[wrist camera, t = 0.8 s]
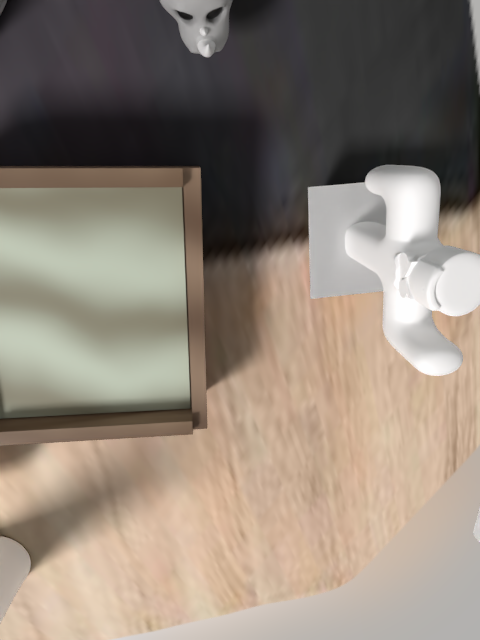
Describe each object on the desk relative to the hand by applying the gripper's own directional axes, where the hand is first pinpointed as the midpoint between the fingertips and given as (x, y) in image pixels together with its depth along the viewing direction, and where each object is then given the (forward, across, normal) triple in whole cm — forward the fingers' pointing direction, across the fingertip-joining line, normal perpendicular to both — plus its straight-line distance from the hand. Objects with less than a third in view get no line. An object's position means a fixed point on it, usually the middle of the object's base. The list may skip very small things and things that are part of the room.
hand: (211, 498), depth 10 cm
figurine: (+24, +11, +3) cm, 27 cm away
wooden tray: (+24, -7, -2) cm, 25 cm away
